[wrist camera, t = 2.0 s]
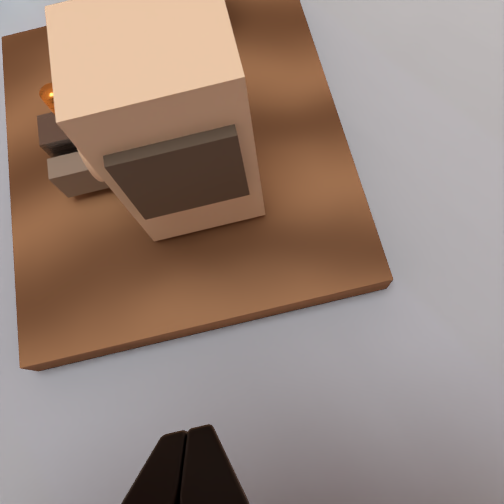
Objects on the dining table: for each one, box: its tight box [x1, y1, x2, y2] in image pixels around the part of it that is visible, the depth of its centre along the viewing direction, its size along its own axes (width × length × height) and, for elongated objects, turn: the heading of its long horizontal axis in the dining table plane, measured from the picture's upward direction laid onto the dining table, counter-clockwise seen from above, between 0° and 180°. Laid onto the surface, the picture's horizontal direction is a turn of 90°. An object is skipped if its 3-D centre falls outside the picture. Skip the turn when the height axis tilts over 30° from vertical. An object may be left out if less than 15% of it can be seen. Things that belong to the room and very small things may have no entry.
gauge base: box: [2, 0, 393, 371], centre depth 21 cm, size 18×16×8 cm
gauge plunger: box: [45, 0, 265, 241], centre depth 17 cm, size 4×8×9 cm, turn 103°
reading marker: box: [37, 83, 78, 158], centre depth 20 cm, size 2×3×4 cm, turn 102°
